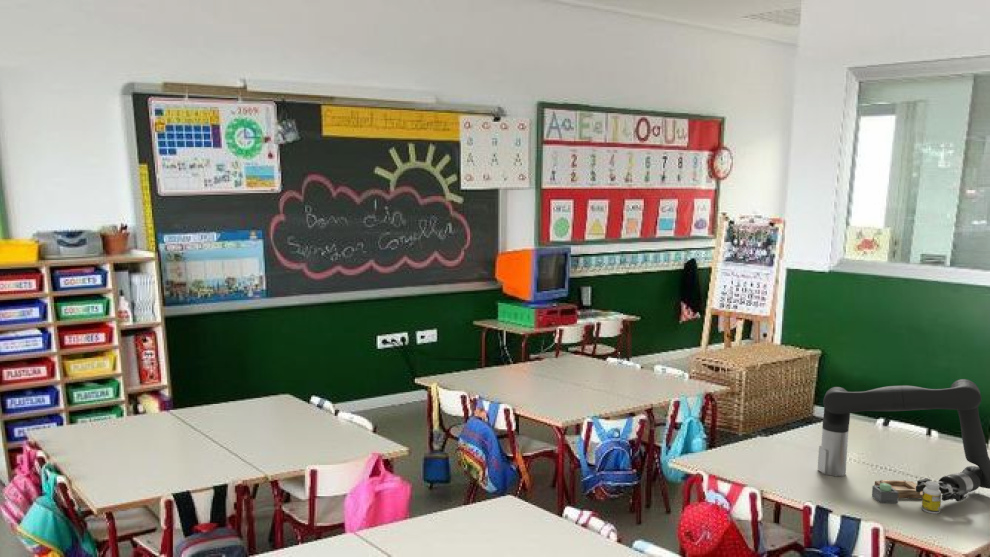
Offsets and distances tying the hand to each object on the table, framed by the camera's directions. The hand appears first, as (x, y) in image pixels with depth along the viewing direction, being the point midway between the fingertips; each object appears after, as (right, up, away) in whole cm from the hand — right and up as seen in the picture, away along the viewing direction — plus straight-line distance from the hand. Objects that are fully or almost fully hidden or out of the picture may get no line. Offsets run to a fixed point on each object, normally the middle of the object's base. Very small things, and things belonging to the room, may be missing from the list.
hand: (929, 493), depth 252 cm
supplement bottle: (+1, -7, +1) cm, 7 cm away
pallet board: (+1, -5, +18) cm, 19 cm away
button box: (-10, -5, +10) cm, 15 cm away
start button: (-10, -3, +10) cm, 14 cm away
